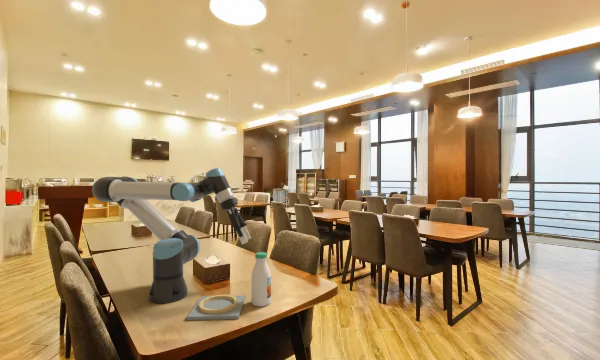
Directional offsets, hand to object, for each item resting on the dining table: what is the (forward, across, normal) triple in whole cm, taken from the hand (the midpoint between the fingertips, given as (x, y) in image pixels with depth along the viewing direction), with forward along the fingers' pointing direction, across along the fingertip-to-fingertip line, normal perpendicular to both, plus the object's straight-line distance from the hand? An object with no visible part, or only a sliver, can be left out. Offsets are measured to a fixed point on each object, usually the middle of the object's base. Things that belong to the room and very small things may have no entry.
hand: (247, 241), depth 134 cm
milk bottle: (+24, -16, +3) cm, 29 cm away
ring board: (+17, -20, +17) cm, 31 cm away
